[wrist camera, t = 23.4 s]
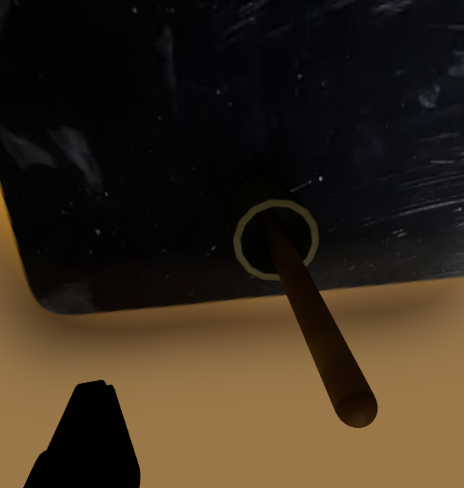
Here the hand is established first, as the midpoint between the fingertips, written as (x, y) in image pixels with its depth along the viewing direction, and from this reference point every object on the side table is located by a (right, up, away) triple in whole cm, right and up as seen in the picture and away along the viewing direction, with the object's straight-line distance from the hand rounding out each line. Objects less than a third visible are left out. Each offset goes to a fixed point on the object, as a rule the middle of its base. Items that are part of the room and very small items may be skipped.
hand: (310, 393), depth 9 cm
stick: (0, +6, +16) cm, 17 cm away
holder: (0, +6, +17) cm, 18 cm away
